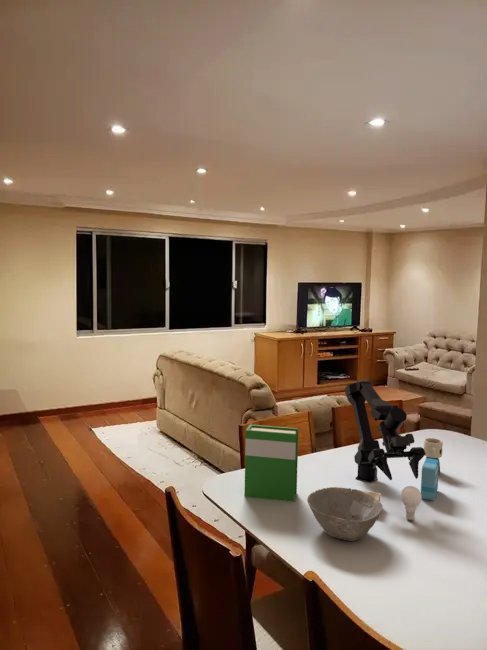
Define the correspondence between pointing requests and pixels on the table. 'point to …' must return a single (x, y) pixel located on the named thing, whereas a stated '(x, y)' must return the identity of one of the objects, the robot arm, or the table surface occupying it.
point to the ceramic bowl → (344, 511)
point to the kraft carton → (373, 494)
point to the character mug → (433, 448)
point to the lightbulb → (411, 500)
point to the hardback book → (271, 462)
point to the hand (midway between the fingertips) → (404, 478)
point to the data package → (429, 479)
